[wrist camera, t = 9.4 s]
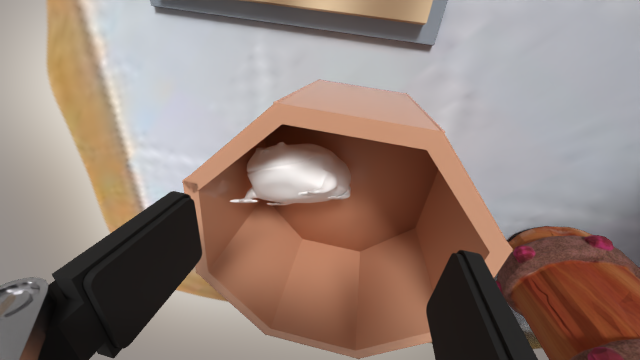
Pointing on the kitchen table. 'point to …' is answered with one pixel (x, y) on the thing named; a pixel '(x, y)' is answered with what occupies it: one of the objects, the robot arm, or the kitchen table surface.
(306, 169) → the garlic
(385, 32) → the mat
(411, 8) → the lid
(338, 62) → the kitchen table surface
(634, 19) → the kitchen table surface
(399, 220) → the bowl
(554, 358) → the mug
